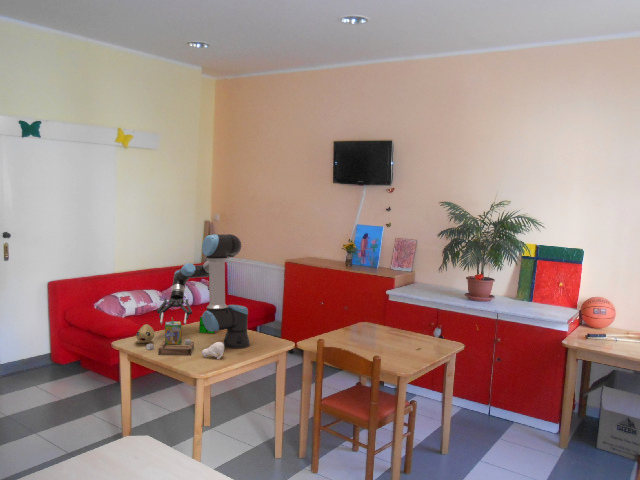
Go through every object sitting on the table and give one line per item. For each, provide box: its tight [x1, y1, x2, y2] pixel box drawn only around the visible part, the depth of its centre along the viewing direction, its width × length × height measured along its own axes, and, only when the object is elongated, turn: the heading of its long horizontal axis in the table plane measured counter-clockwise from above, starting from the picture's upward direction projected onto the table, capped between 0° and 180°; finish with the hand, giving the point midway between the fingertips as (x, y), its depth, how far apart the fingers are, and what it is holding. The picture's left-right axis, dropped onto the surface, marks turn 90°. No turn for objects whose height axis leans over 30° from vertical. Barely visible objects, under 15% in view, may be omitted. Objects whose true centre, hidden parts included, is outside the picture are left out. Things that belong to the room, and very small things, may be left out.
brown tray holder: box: [157, 340, 195, 356], centre depth 292 cm, size 15×17×3 cm
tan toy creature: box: [135, 323, 155, 344], centre depth 302 cm, size 10×12×11 cm
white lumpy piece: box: [201, 341, 225, 360], centre depth 283 cm, size 6×8×12 cm
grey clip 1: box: [145, 343, 155, 351], centre depth 292 cm, size 3×3×2 cm
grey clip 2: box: [184, 338, 192, 346], centre depth 306 cm, size 3×3×2 cm
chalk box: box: [164, 318, 182, 346], centre depth 307 cm, size 9×9×15 cm
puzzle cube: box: [198, 315, 218, 335], centre depth 335 cm, size 10×10×10 cm
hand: (173, 323), depth 310 cm, fingers open, 13 cm apart
